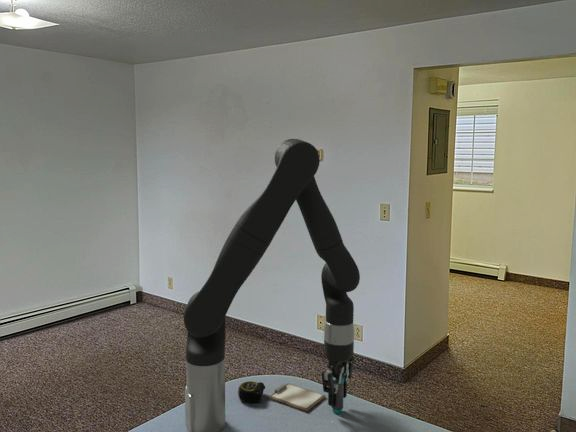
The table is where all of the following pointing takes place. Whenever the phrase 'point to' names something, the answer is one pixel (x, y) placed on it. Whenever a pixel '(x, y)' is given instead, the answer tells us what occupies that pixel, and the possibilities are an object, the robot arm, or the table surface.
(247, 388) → the tape measure
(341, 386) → the marker
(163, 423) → the table surface
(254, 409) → the table surface
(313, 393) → the clipboard
